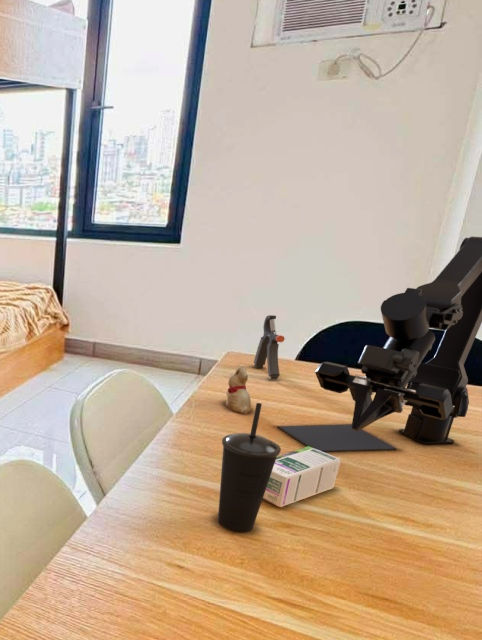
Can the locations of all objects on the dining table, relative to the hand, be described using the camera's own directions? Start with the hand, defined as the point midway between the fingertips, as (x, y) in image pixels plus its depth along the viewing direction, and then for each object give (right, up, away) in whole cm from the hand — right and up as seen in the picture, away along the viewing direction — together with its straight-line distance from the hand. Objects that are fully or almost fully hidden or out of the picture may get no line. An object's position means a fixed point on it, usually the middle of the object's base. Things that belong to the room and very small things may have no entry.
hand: (354, 429), depth 105 cm
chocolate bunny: (+1, +3, +38) cm, 38 cm away
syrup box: (-3, -7, +4) cm, 8 cm away
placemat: (+12, -3, +21) cm, 25 cm away
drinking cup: (-24, -14, -8) cm, 29 cm away
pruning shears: (+21, +11, +60) cm, 64 cm away
